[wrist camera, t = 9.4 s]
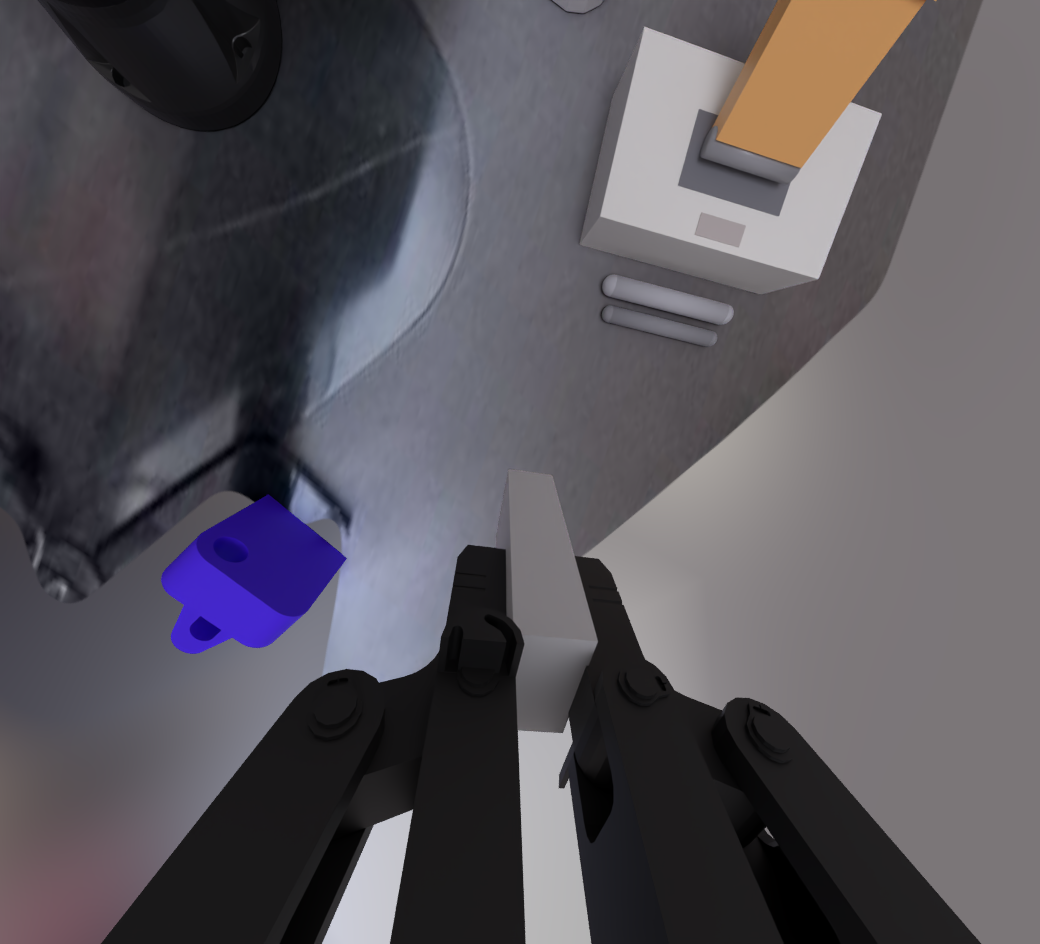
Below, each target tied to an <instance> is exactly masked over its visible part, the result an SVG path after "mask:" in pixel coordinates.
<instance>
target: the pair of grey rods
mask: <svg viewBox="0 0 1040 944" xmlns="http://www.w3.org/2000/svg"><path fill="white" fill-rule="evenodd" d="M602 289H603V292H604V294H605V295H607V296H609V297H612V298H616V299H620V300H624V301H628V302H632V303H636V304H640V305H643V306H647V307H651V308H655V309H659V310H663V311H667V312H671V313H675V314H678V315H682V316H686V317H690V318H694V319H698V320H702V321H706V322H710V323H714V324H717V325H723V324H726V323H728V322H729V321H730V320H731V319H732V317H733V314H734V311H733V308H732V307H731V306H730V305H728V304H725V303H721V302H718V301H714V300H710V299H706V298H703V297H699V296H695V295H691V294H688V293H684V292H680V291H676V290H673V289H669V288H665V287H661V286H657V285H654V284H650V283H646V282H642V281H639V280H635V279H631V278H627V277H624V276H620V275H616V274H612V275H609V276H608V277H606V278H605V280H604V282H603V285H602ZM602 318H603V320H604V321H606V322H608V323H612V324H616V325H620V326H624V327H628V328H632V329H637V330H641V331H645V332H649V333H653V334H657V335H661V336H665V337H669V338H673V339H677V340H681V341H685V342H689V343H693V344H697V345H701V346H705V347H709V346H712V345H714V344H715V342H716V341H717V334H716V333H715V332H714V331H711V330H707V329H703V328H699V327H695V326H691V325H687V324H683V323H680V322H676V321H672V320H668V319H664V318H660V317H656V316H652V315H648V314H644V313H640V312H636V311H632V310H628V309H624V308H620V307H616V306H613V305H609V306H607V307H605V308H604V309H603V311H602Z"/></svg>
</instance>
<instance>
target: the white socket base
mask: <svg viewBox="0 0 1040 944" xmlns="http://www.w3.org/2000/svg"><path fill="white" fill-rule="evenodd" d="M744 65H745V63H742V62H740V61H737V60H734V59H731V58H729V57H726V56H723V55H720V54H718V53H715V52H712V51H710V50H707V49H704V48H701V47H699V46H696V45H693V44H691V43H688V42H685V41H682V40H680V39H677V38H674V37H671V36H669V35H666V34H663V33H661V32H658V31H655V30H652V29H650V28H647V27H644V29H643V31H642V33H641V35H640V38H639V40H638V42H637V44H636V46H635V49H634V51H633V53H632V55H631V57H630V60H629V62H628V64H627V66H626V68H625V70H624V73H623V75H622V77H621V79H620V81H619V84H618V86H617V88H616V90H615V92H614V95H613V97H612V101H611V106H610V110H609V115H608V119H607V123H606V128H605V132H604V137H603V141H602V146H601V150H600V155H599V159H598V163H597V168H596V172H595V177H594V181H593V186H592V190H591V195H590V199H589V203H588V208H587V212H586V217H585V221H584V226H583V230H582V235H581V239H580V243H579V245H581V246H585V247H588V248H592V249H596V250H599V251H603V252H607V253H610V254H614V255H618V256H621V257H625V258H629V259H632V260H636V261H639V262H643V263H647V264H650V265H654V266H658V267H661V268H665V269H669V270H672V271H676V272H680V273H683V274H687V275H691V276H694V277H698V278H702V279H705V280H709V281H712V282H716V283H720V284H723V285H727V286H731V287H734V288H738V289H742V290H745V291H749V292H753V293H756V294H760V295H761V294H765V293H769V292H773V291H776V290H780V289H784V288H787V287H791V286H795V285H799V284H802V283H806V282H810V281H814V280H817V279H819V276H820V274H821V271H822V269H823V266H824V263H825V261H826V258H827V256H828V253H829V250H830V248H831V245H832V243H833V240H834V237H835V235H836V232H837V230H838V227H839V224H840V222H841V219H842V216H843V214H844V211H845V209H846V206H847V203H848V201H849V198H850V196H851V193H852V190H853V188H854V185H855V183H856V180H857V177H858V175H859V172H860V170H861V167H862V164H863V162H864V159H865V157H866V154H867V151H868V149H869V146H870V144H871V141H872V138H873V136H874V133H875V131H876V128H877V125H878V123H879V120H880V117H881V115H882V114H881V113H878V112H876V111H873V110H870V109H868V108H865V107H862V106H859V105H857V104H854V103H851V102H850V103H849V105H848V106H847V108H846V109H845V110H844V112H843V113H842V114H841V116H840V117H839V118H838V120H837V121H836V122H835V124H834V125H833V126H832V128H831V129H830V130H829V132H828V133H827V134H826V136H825V137H824V139H823V140H822V141H821V143H820V144H819V145H818V147H817V148H816V149H815V151H814V152H813V153H812V155H811V156H810V157H809V159H808V160H807V161H806V163H805V164H804V165H803V167H802V168H801V169H800V171H799V173H798V174H797V176H796V177H795V178H794V179H793V180H792V181H791V182H790V183H789V184H786V185H785V184H782V183H778V182H775V181H772V180H769V179H766V178H763V177H760V176H757V175H754V174H751V173H748V172H744V171H741V170H738V169H735V168H732V167H729V166H726V165H723V164H720V163H717V162H713V161H710V160H707V159H704V158H701V156H700V153H701V149H702V146H703V143H704V141H705V139H706V137H707V135H708V133H709V131H710V130H711V129H712V127H713V125H714V123H715V121H716V119H717V117H718V115H719V113H720V111H721V109H722V107H723V105H724V104H725V102H726V100H727V98H728V96H729V94H730V92H731V90H732V88H733V86H734V84H735V82H736V80H737V78H738V77H739V75H740V73H741V71H742V69H743V67H744Z"/></svg>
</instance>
